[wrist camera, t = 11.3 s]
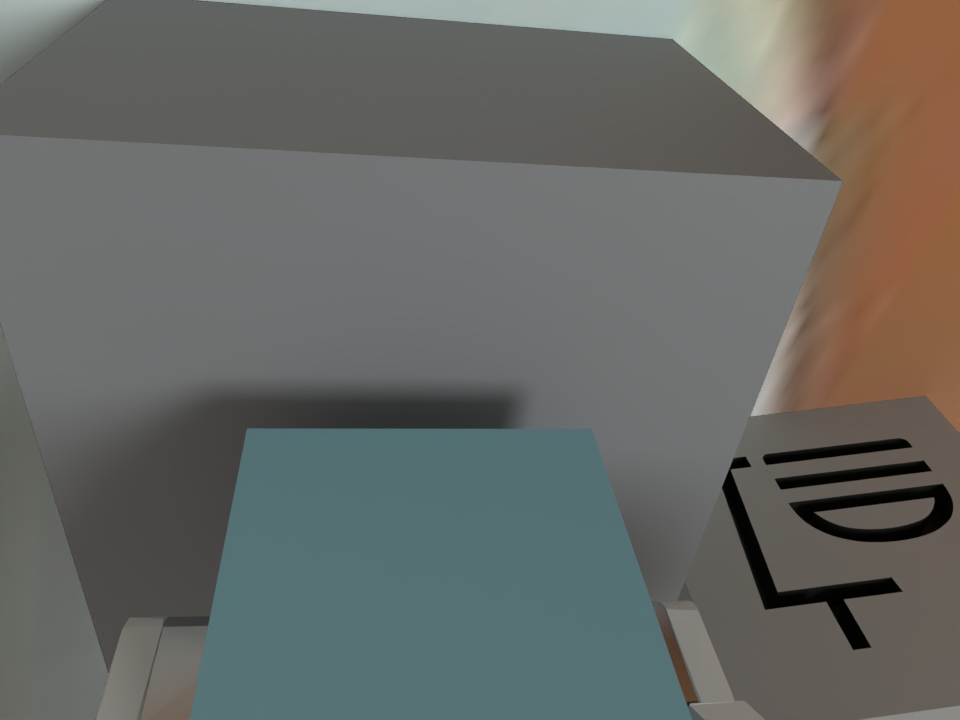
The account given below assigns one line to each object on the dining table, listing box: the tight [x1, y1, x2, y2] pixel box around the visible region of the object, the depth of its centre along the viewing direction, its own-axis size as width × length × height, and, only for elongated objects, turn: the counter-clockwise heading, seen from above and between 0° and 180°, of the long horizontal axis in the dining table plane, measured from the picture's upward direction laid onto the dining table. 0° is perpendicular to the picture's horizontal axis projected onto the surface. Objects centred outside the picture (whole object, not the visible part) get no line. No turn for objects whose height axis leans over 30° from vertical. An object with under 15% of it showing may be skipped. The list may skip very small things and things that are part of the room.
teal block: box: [190, 428, 692, 720], centre depth 11 cm, size 5×5×5 cm
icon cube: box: [677, 396, 960, 720], centre depth 24 cm, size 10×10×10 cm
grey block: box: [0, 0, 843, 673], centre depth 17 cm, size 12×12×8 cm
